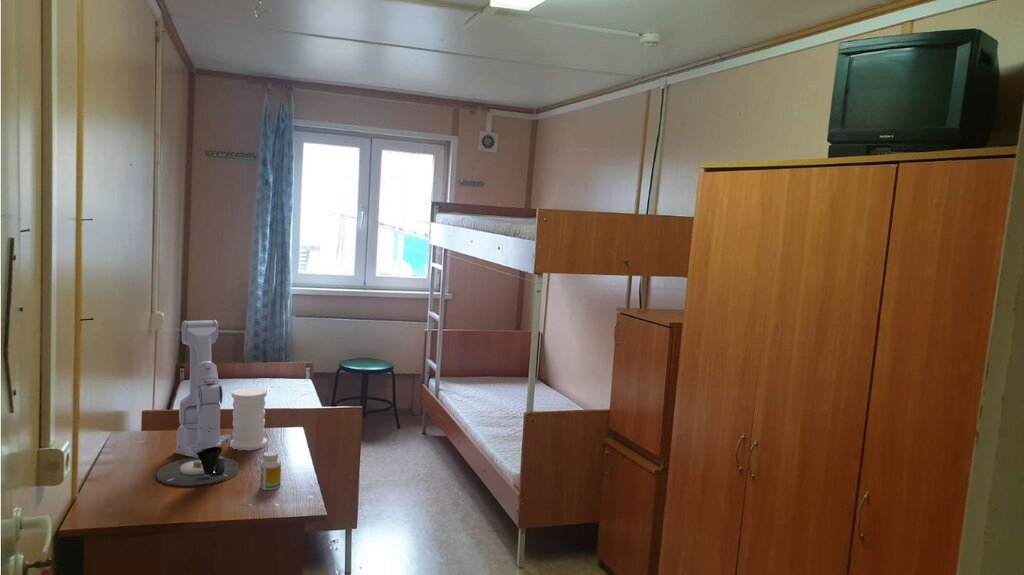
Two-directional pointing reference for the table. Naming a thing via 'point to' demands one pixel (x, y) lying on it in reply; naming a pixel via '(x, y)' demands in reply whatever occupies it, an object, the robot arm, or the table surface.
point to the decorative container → (248, 419)
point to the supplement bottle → (270, 471)
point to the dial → (197, 467)
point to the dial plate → (174, 477)
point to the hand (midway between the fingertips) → (208, 472)
